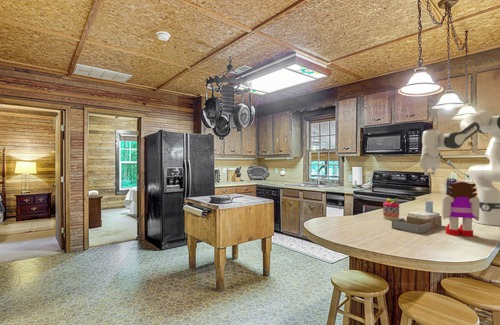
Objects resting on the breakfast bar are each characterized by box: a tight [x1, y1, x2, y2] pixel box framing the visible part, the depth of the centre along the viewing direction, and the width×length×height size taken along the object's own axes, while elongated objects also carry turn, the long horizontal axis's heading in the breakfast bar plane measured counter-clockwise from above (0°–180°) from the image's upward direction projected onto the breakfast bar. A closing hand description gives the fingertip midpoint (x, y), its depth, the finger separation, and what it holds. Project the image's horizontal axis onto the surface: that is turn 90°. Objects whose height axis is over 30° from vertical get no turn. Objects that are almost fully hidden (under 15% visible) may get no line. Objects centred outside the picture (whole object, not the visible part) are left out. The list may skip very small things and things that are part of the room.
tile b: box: [407, 211, 420, 218], centre depth 174 cm, size 5×5×2 cm
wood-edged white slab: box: [406, 215, 443, 229], centre depth 176 cm, size 20×12×6 cm, turn 125°
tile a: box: [417, 213, 430, 219], centre depth 169 cm, size 5×5×2 cm
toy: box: [441, 181, 480, 238], centre depth 155 cm, size 18×9×30 cm, turn 74°
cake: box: [382, 197, 400, 221], centre depth 197 cm, size 10×11×15 cm
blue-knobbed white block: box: [415, 200, 441, 218], centre depth 178 cm, size 10×11×9 cm
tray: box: [391, 217, 432, 235], centre depth 166 cm, size 14×16×5 cm
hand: (429, 174), depth 180 cm, fingers open, 8 cm apart
